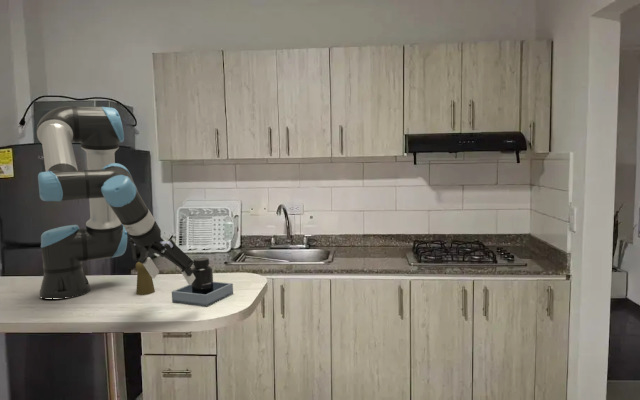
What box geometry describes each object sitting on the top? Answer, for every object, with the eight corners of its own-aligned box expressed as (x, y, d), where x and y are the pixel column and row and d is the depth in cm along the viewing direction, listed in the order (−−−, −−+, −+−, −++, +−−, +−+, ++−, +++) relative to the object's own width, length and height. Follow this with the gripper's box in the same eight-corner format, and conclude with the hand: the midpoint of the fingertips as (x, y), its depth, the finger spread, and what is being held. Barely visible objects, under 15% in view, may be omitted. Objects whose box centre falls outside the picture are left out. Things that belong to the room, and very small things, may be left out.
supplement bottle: (208, 299, 141) (205, 261, 140) (188, 298, 142) (185, 261, 141) (217, 292, 148) (215, 256, 147) (198, 292, 149) (196, 256, 148)
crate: (172, 302, 142) (171, 291, 142) (200, 290, 154) (199, 280, 154) (206, 306, 136) (206, 295, 136) (233, 293, 149) (232, 283, 148)
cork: (158, 291, 154) (155, 260, 153) (141, 296, 150) (138, 263, 149) (149, 288, 158) (147, 258, 157) (133, 293, 154) (130, 261, 153)
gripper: (98, 232, 123) (134, 281, 136) (171, 242, 113) (201, 294, 127) (116, 213, 128) (148, 263, 141) (186, 221, 118) (214, 274, 132)
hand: (173, 278), depth 134 cm, fingers open, 13 cm apart
